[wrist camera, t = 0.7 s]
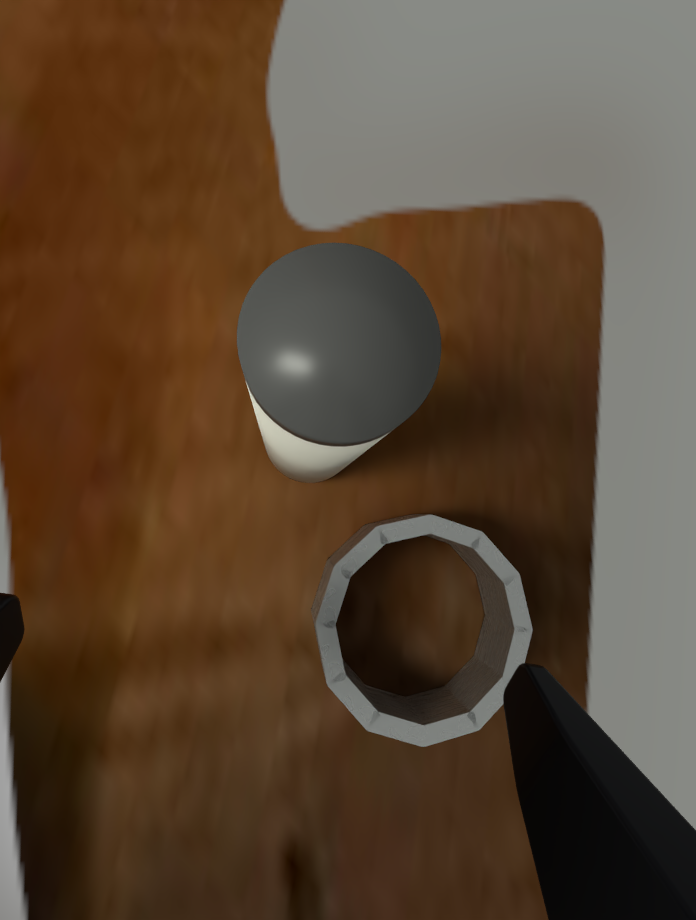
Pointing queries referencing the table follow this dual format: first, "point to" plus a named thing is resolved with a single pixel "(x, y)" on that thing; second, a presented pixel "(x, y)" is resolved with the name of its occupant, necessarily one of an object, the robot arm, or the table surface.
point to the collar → (479, 679)
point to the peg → (334, 355)
